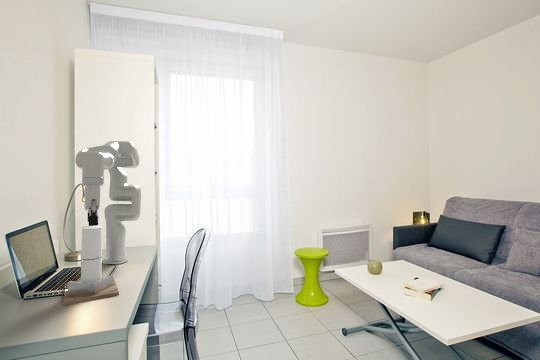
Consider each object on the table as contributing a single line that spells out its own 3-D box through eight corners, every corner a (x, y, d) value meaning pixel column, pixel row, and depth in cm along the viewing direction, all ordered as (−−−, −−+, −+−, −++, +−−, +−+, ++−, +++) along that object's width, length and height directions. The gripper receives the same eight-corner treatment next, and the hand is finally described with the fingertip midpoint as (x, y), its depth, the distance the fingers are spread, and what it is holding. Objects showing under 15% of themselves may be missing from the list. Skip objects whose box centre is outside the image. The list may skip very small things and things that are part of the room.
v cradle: (64, 287, 121) (65, 274, 121) (113, 279, 132) (113, 268, 132) (63, 305, 105) (63, 291, 105) (118, 294, 115) (119, 282, 115)
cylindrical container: (91, 292, 114) (92, 229, 114) (76, 290, 116) (77, 228, 115) (105, 285, 121) (106, 226, 121) (90, 283, 123) (91, 225, 122)
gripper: (81, 180, 123) (81, 220, 123) (82, 183, 108) (82, 228, 109) (102, 180, 127) (101, 219, 128) (105, 183, 113) (105, 226, 113)
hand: (92, 223), depth 118 cm, fingers open, 9 cm apart
